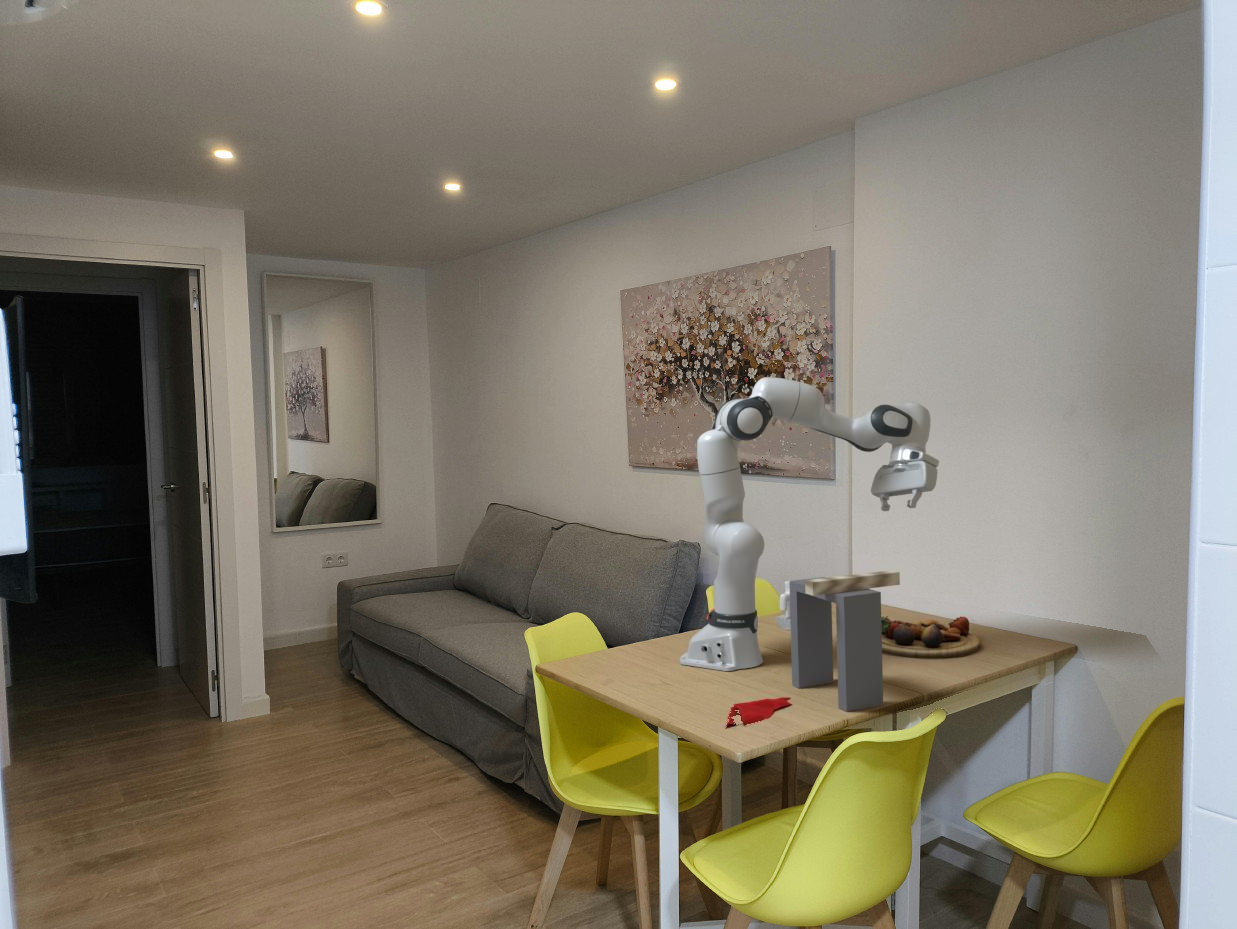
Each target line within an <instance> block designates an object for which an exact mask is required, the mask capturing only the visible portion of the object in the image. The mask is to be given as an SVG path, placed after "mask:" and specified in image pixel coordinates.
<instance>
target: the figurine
mask: <svg viewBox="0 0 1237 929" xmlns="http://www.w3.org/2000/svg"><path fill="white" fill-rule="evenodd" d="M790 581H791V580H788V581H787V580H786V581H784V588H785V592H784V593H781V594H780V596H779V610H780V612H783V613H784V612H785V613H784V614H781V615H778V616H776V617H774V619H775V621H776V623H777V624H778V626H779V628H780V629H781V630H785V629H787V630H786V631H791V618H790Z"/></svg>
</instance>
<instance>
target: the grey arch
mask: <svg viewBox="0 0 1237 929" xmlns="http://www.w3.org/2000/svg"><path fill="white" fill-rule="evenodd" d="M821 578H826V577H825V576H822V577H812V578H804V579H797V580H789V581H790V618H791V630H790V653H791V681H792V682H791V683H792V684H791V685H792V686H793V687H795V688H797V689H804V688H809V687H811V688H812V687H816V686H822V685H828V684H833V683H834V654H833V653H834V652H833V648H834V647H833V643H834V642H833V611H832V610H833V604H832V603H834V604H835V611H836V612H835V614H836V616H835V618H836V648H837V649H836V653H837V655H836V656H837V657H836V658H837V659H836V661H837V662H836V663H837V664H836V665H837V694H838V696H837V698H838V700H837V701H838V702H837V703H838V709H840V710H842V711H844V712H846V713H848V712H853V711H859V710H864V709H869V708H875V707H880V706H884V684H883V683H884V682H883V680H884V678H883V676H884V675H883V673H884V671H883V653H882V625H881V617H882V595H881V594H882V592H881V591H878V590H874V589H872V588H870V589H862V590H854V591H846V592H838V593H830V594H822V595H814V596H813V595H809V594H806V590H805V580H812V579H821Z"/></svg>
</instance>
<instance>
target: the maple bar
mask: <svg viewBox="0 0 1237 929" xmlns="http://www.w3.org/2000/svg"><path fill="white" fill-rule="evenodd" d="M900 572H901V571H897V570H893V569H892V570H891V569H890V570H881V571H873V572H866V573H865V572H863V573H855V574H849V575H840V576H839V575H838V576H830V577H825V578H821V579H812V578H811V579H812V580H805V590H806V594H809V595H813V596H814V595H822V594H830V593H838V592H846V591H854V590H862V589H876V588H885V587H892V586H900V584H901V583H900V582H901V581H900V580H901V579H900V578H901V576H900Z"/></svg>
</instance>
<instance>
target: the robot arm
mask: <svg viewBox="0 0 1237 929" xmlns="http://www.w3.org/2000/svg"><path fill="white" fill-rule="evenodd" d="M825 404H826V402H825V397H824V395H823V393H822V391H820V389H819V388H817V387H815V386H813V385H811V384H808V383H805V382H801V381H798V380H797V381H796V380H793V379H788V378H781V377H772V376H771V377H769V376H768V377H767V376H766V377H765V376H764V377H762V378H760V379H758V381H756V383H755V384H754V387H753V388H752V391H751V394H750V396H749V397H748V398H736V399H735V398H734V399H730V400H728V401H725V402H724V403H723V404H721V406H720V407H719V409H718V410H717V412H716V415H715V419H714V422H713V424H712V428H711V430H707V431H705V432H703V433H702V434H701V435H699V438H697V441H696V458H697V468H698V473H699V474H698V475H699V478H700V483H701V489H702V496H703V500H704V522H705V523H704V527H705V529H704V530H703V539H704V540H703V541H704V543H705V545H706V547H707V548H708V549H709V551H710V552H711V553H713V554H714V555H715V556H718V557H719V561H718V563H719V564H718V570H717V575H716V578H715V579H714V581H713V596H714V597H713V599H714V607H713V608H711V610H710V611H709V612H708V613H707V615H706V620H707V622H708V623H707V624H706V625H705V626H703V627H702V628H701V629H700V630H699V631H697V632H695V634H694V635H692V637H691V638H690V640H689V642H688V648H687V651H686V652H685V653H682V655H681V656H680V658H679V664H680V665H684V666H692V667H696V668H697V667H698V668H704V669H710V670H716V671H723V672H732V671H736V670H742V669H748V668H749V669H751V668H754V667H758V666H760V665H762V664H763V663H764V659H763V657H762V653H761V648H760V645H759V638H758V629H759V616H758V611H757V610H756V577H757V576H756V575H757V570H758V565H759V560H760V558H761V556H762V555H763V553H764V551H765V550H764V549H765V539H764V537H763V535H762V533H761V532H760V531H759V530H758V529H757V528H756V527H755V526H754V525H752V524H750V523H747V522H745V521H744V514H743V510H744V508H743V507H744V506H743V505H744V500H745V498H746V496H745V495H746V492H745V486H744V481H743V476H742V472H741V466H740V461H739V457H738V454H739V453H738V452H739V450H738V449H739V445H740V443H741V441H753V440H755V439H757V438H758V437H760V436H761V435H762V434H763V432H764V431H765V430H766V428H767V426H768V425H769V422H770V421H771V419H778V420H782V421H786V422H788V423H789V422H790V423H793V424H797V425H801V426H804V427H807V428H809V429H811V430H814V431H817V432H820V433H822V434H825V435H829V436H832V437H835V438H837V439H841V440H843V441H846V442H848V443H849V444H850V445H852V446H853V447H854V448H856V449H857V450H859V451H861V452H865V453H866V452H867V453H871V452H875V451H877V450H879V449H880V448H881V447H882V446H884V445H885V444H887V443H888V444H890V445H891V451H890V457H889V462H888V464H883V465H882V466H881V467H879V468H878V469H877V471H876V473H875V475H874V478H873V481H872V484H871V486H870V487H871V488H870V493H871V495H873V496H875V497H877V498H879V500H880V503H881V506H880V510H881V511H883V512H889V511H890V510H891V505H890V504H889V503H888V501H889V500H890V497H891V498H892V497H896V496H897V497H898V496H905V495H911V494H912V496H911V498H910V499H908V500H907V503H906V507H907V508H909V509H915V508H916V507H917V503H918V502H919V500H920V499H921V497H922V495H923V493H926V492H932V491H933V490H934V489H935V488H936V485H937V480H938V469H937V467H939V465H940V464H939V463H940V461H939V460H938V459H937V458H935V457H934V456H932V455H930V454H929V453H927V450H926V445H927V443H928V441H929V437H930V432H931V414H930V411H929V410H928V408H926V407H925V406H924V405H921V404H920V403H915V402H906V403H903V404H901V405H890V404H879V405H878V406H876V407H874V408H873V409H871V410H870V411H868V412H867V413H866V414H864V415H863V416H861V417H853V418H851V417H848V416H845V415H842V414H839V413H836V412H833V411H830V410H828V409H827V408H826V407H825Z"/></svg>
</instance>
